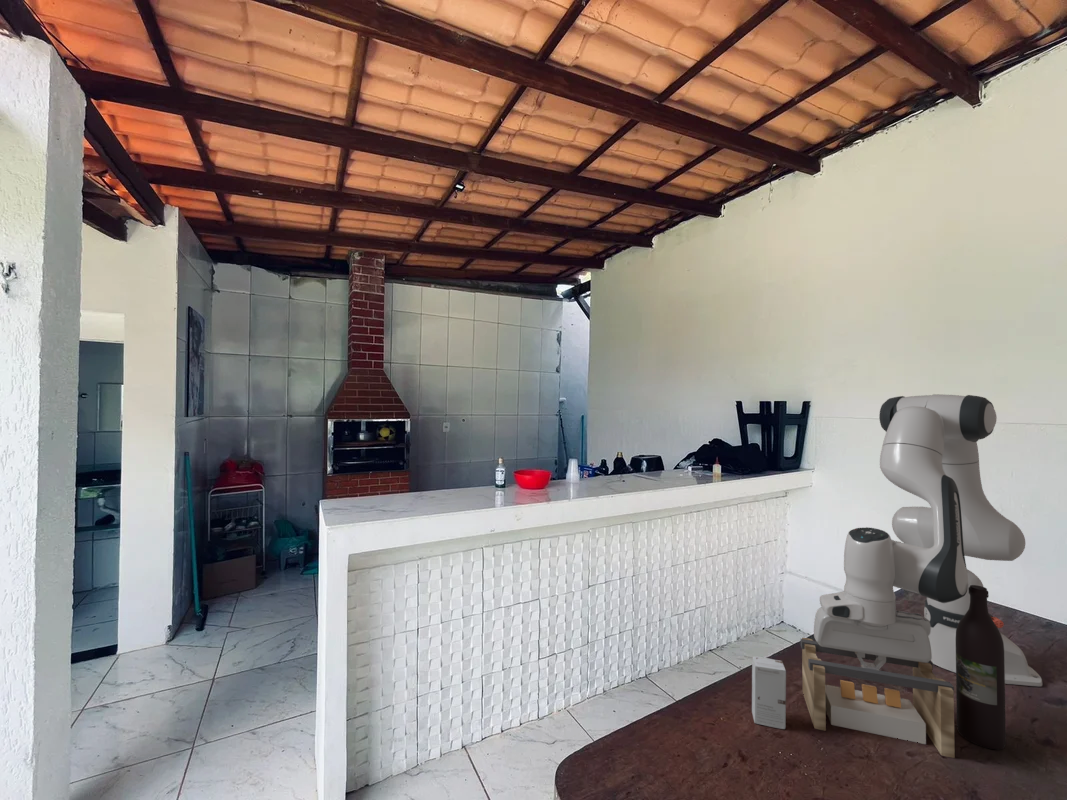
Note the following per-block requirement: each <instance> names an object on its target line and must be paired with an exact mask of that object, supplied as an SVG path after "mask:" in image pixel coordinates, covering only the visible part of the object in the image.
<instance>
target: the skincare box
mask: <svg viewBox="0 0 1067 800" xmlns="http://www.w3.org/2000/svg"><path fill="white" fill-rule="evenodd" d="M751 657H752V660H751V661H752V663H751V664H752V666H751V713H752V719H753V722H754V724H757V725H762V726H765V727H770V728H774V729H781V730H786V723H787V721H786V719H787V716H786V713H787V712H786V711H787V710H786V708H787V670H786V668H785V665H784V662H783V660H778V659H773V658H769V657H760V656H754V655H752V656H751Z"/></svg>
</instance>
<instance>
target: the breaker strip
mask: <svg viewBox="0 0 1067 800" xmlns="http://www.w3.org/2000/svg"><path fill="white" fill-rule="evenodd" d="M877 698H878V703H873V702H867V701H864V700H863V694H862V690H858V689H855V699H851V698H846V697H842V696H841V689H840V686H836V685H830V684H825V708H826V715H827V717H828V720H829V723H830V725H832V726H835V727H839V728H846V729H850V730H855V731H859V732H865V733H870V734H873V735H879V736H882V737H883V736H884V737H887V738H888V737H889V738H892V739H897V738H898V740H902V741H903V740H904V741H907V740H908V742H913V743H917V742H918V744H922V745H927V733H926V724H925V722H924V721H923V719H922V718H921V716H920V715H919V713H918V712H917V710H916V709H915V707H914V706H913V702H911V700H910V699H907V698H903V697H902V698H901V697H900V700H901V708H899V707H894V706H889V705H886V703H885V694H880V693H877Z"/></svg>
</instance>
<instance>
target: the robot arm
mask: <svg viewBox="0 0 1067 800" xmlns="http://www.w3.org/2000/svg"><path fill="white" fill-rule="evenodd" d="M878 416H879V423H880V426H881V428H882V430H883V431H885V435H884V438H883V442H882V447H881V450H880V455H879V456H880V457H879V468H880V471H881V472H882V475H884V477H885V478H886V479H887V480H888V481H889V482H890V483H891V484H893V485H894V486H896V487H898V488H899V489H901V490H904V491H905V492H908V493H909V494H912V495H914V496H916V497H918V498H919V499H920V498H921V499H922V500H923V501H925V502H927V503H928V505H929V506H930V507H928V506H902V507H901V508H899V509H897V511H896V512H894V514H893V516H892V519H891V527H892V531H893V533H894V534H895V536H896V537H897V539H898V540H900V541H898V540H894V539H892V538H891V536H890V534H889V533H888V532H886V531H885V530H882V529H880V528H875V527H867V526H866V527H856V528H853V529H850V530H849V531H848V533H847V534H846V539H845V544H844V552H843V553H844V554H843V571H844V573H845V583H844V587H843V591H839V592H834V593H826V594H821V595H820V596H819V604H820V607H819V608H818V609H817V610H816V612H815V617H814V622H813V623H814V624H813V637H814V639H815V640H814V641H817V643H818V644H819V645H820V646H821V647H827V648H834V649H840V650H846V651H853V652H855V654H856V656H857V657H858V658H857V659H858V661H859V662H860V667H862V668H868V669H874V670H880V671H881V668H882V667H883V666H884V665H885V664H886V663H885V662H886V657H891V658H897V659H904V660H910V661H917V662H923V663H928V662H929V661H930V660H931V661H932V662H933V665H936V666H938V667H939V668H942V669H944V670H947V671H950V672H952V673H955V674H956V629H957V626H958V623H959V622H960V620H961V619H962V618H963V616H964V615H965V614H966V613H967V611H968V610H969V606H970V594H969V587H970V585H977V586H982V587H984V584H983V581H982V580H981V579H980V578H979V576H977V574H975V573H974V572H973V571H971V570H969V569H968V568H967V563H966V557H970V558H976V559H981V560H984V561H985V560H986V561H998V562H999V561H1000V562H1001V561H1002V562H1003V561H1005V562H1007V561H1008V562H1013V561H1015V560H1016V559H1018V558H1020V557H1021V555H1022V554H1023V553H1024V551H1025V549H1026V538H1025V535H1024V533H1023V531H1022V529H1020V527H1019V526H1018V525H1017V524H1015V522H1013V521H1012V520H1010V519H1008V518H1007V517H1005V516H1004V515H1003V514H1001V513H1000V512H999V511H998V510H997V509H996V508H995V507H994V506H993V505H992V504H991V502H990V501H989V500H988V498H987V496H986V494H985V492H984V490H983V485H982V479H981V470H980V455H979V453H980V452H979V447H978V442H979V441H980V440H983V439H985V438H987V437H988V436H990V435H992V433H993V431H994V428H995V426H996V424H997V419H998V418H997V412H996V410H995V407H994V405H993V403H992V401H990V400H989V399H987V398H986V397H984V396H980V395H979V396H978V395H971V394H967V395H956V394H935V393H933V394H928V395H927V394H925V395H912V396H903V395H902V396H901V395H900V396H895V397H890V398H888V399H886V400H885V401H884V402H883V403H882V404H881V406H880V409H879V415H878ZM894 588H897V589H901V590H904V591H908V592H911V593H914V594H917V595H920V596H923V597H925V598H926V599H925V600H924V609H923V615H924V616H923V615H922V614H921V613H917V612H912V613H911V612H906V611H901V610H896V609H897V607H896V603H897V602H896V601H897V600H896V594H895V591H894ZM989 615H990V616H991V618H992V620H993V622H994V623H995V625H996V626H997V628H998V629H1002V628H1003V627H1004V626H1005V624H1004V622H1003V620H1001V619H1000V618H998V617H996V616H993V615H992V614H991V613H989ZM1001 636H1002V639H1003V643H1004V664H1005V685H1006V684H1007V685H1017V686H1029V687H1043V679H1042V677H1041V676H1040V674H1039V673H1038V672H1037V671H1036V670H1034V669H1033V668H1032V667H1031V666H1030V665H1028V660H1027V658H1026V655H1025V653H1024V652H1023V650H1022V649H1021V648H1020V647H1019V646H1018V645H1016V644H1015V643H1014V642H1013V641H1012V640H1011V639H1009V638H1008V637H1007V636H1006V635H1004V634H1003V633H1001ZM865 653H866V654H872V655H875V656H876V657H877V658H876V660H875V661H873V662H867V661H864V659H862V658H865Z"/></svg>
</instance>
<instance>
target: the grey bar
mask: <svg viewBox="0 0 1067 800" xmlns="http://www.w3.org/2000/svg"><path fill="white" fill-rule="evenodd" d="M813 665H819V666H824V668H825V674H830V675H835V676H842V677H846V678H852V679H859V680H864V681H865V680H866V681H870V682H875V683H881V684H886V685H892V686H898V687H905V688H911V689H913V688H915V689H921V690H927V691H932V692H938V686H943V687H949V688H952V690H953V691H954V692H955V686H954V685H953V683H951V682H950V681H946V680H945V681H940V680H934V679H928V678H922V677H916V676H913V675H910V674H909V675H907V674H904V673H897V672H891V671H883V670H881V669H880V670H874V669H868V668H862V667H861V666H854V665H848V664H842V663H837V662H831V661H824V660H821V661H820V660H814V659H808V666H809V669H810V670H812V671H813Z"/></svg>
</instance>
